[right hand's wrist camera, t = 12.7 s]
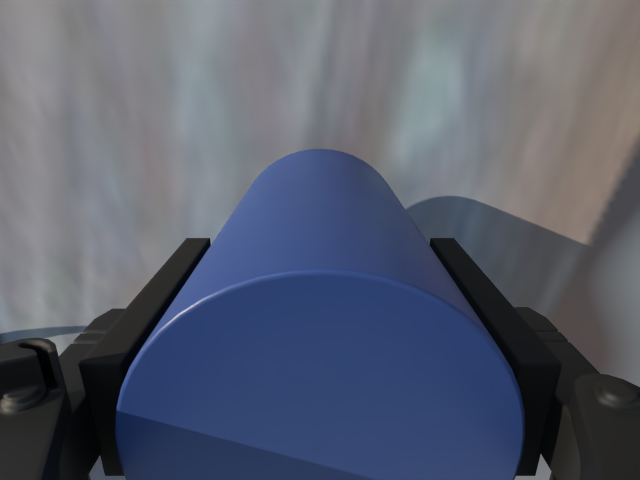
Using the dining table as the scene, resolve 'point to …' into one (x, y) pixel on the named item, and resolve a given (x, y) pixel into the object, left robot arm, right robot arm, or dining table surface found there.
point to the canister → (320, 348)
